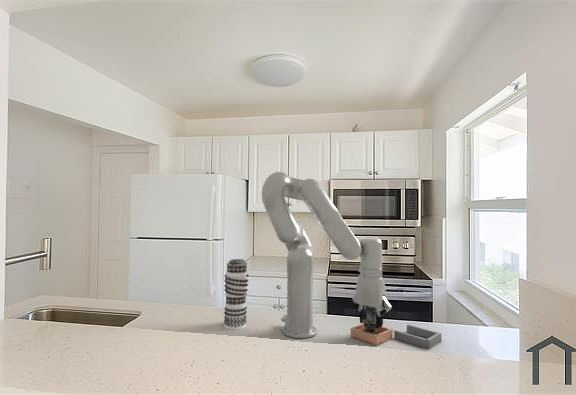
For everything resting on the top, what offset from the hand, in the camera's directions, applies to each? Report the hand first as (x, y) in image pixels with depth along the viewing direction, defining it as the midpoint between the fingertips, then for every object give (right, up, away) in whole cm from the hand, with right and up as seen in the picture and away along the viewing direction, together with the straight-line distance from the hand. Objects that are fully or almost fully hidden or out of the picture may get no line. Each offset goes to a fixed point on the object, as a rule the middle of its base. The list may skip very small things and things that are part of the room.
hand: (371, 324), depth 110 cm
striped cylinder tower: (-50, -5, +9) cm, 51 cm away
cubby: (+15, -5, -1) cm, 16 cm away
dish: (0, -5, 0) cm, 5 cm away
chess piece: (0, -3, 0) cm, 3 cm away
